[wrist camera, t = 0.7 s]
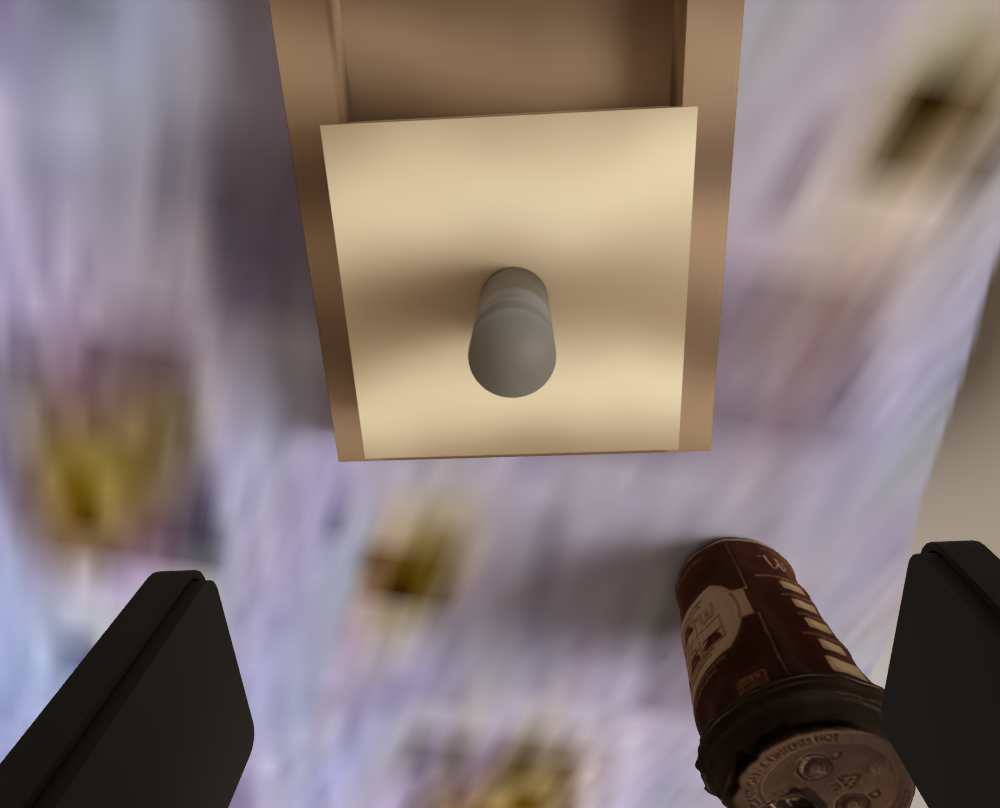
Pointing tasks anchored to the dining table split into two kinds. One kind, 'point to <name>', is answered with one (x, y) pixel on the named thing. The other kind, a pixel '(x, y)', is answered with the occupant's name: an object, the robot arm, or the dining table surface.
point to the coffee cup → (778, 691)
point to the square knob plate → (515, 278)
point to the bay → (509, 90)
